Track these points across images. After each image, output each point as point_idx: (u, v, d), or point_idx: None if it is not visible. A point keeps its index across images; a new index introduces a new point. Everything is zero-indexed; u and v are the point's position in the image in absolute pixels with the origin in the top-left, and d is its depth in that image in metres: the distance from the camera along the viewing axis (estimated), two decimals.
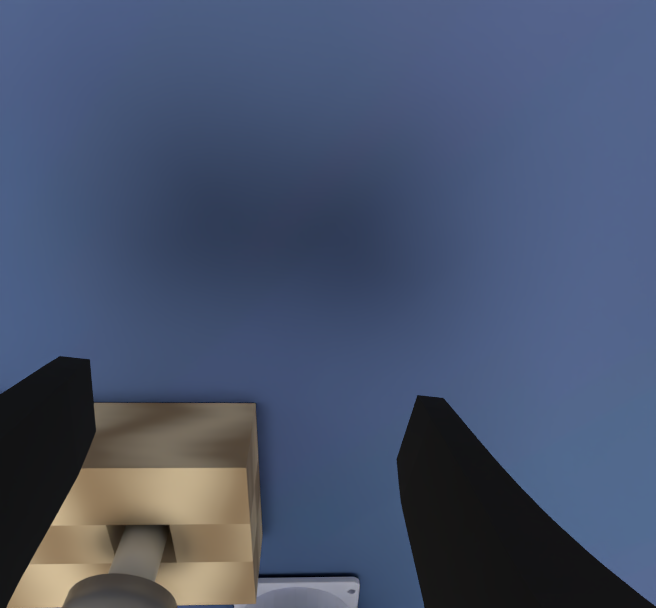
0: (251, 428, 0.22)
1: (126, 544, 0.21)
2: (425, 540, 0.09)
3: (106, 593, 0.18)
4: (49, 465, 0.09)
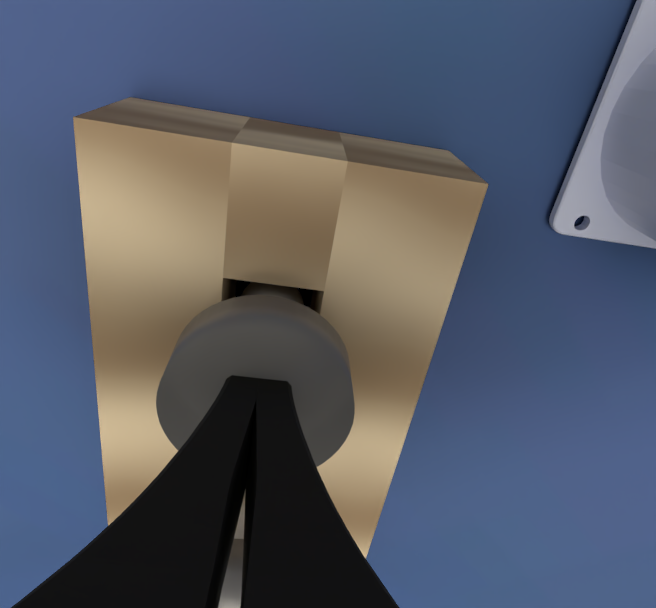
0: (112, 105, 0.13)
1: None
2: (246, 527, 0.09)
3: None
4: (241, 481, 0.09)
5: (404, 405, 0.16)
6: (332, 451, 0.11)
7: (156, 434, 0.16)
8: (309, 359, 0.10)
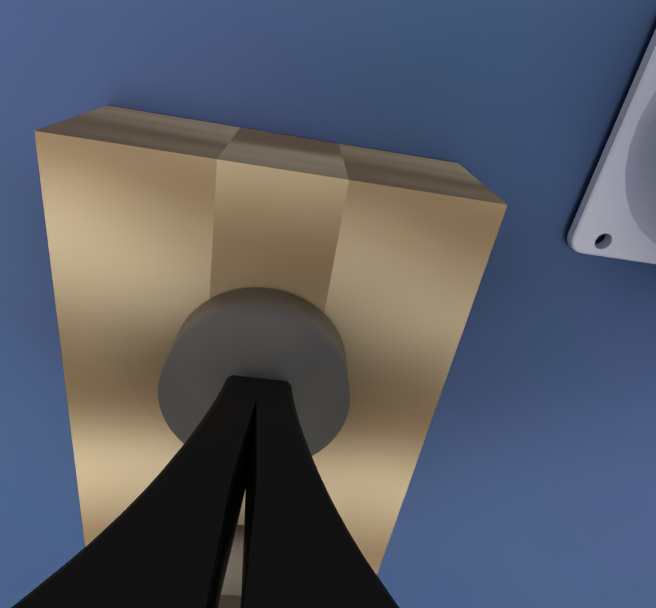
0: (84, 115, 0.12)
1: None
2: (246, 527, 0.09)
3: None
4: (241, 481, 0.09)
5: (410, 443, 0.14)
6: (328, 440, 0.12)
7: (138, 474, 0.14)
8: (306, 349, 0.10)
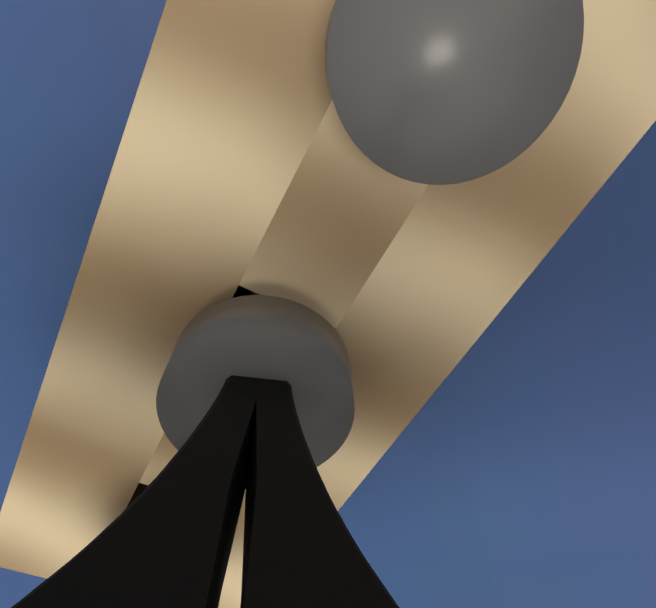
0: None
1: None
2: (246, 527, 0.09)
3: None
4: (241, 481, 0.09)
5: (533, 249, 0.12)
6: (505, 160, 0.09)
7: (198, 182, 0.11)
8: None
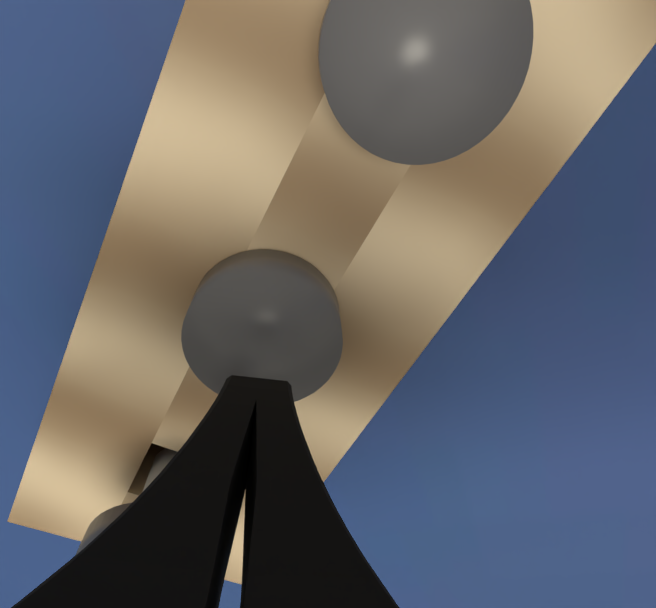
0: None
1: None
2: (246, 527, 0.09)
3: None
4: (241, 481, 0.09)
5: (502, 225, 0.14)
6: (471, 143, 0.11)
7: (208, 165, 0.12)
8: (512, 1, 0.10)
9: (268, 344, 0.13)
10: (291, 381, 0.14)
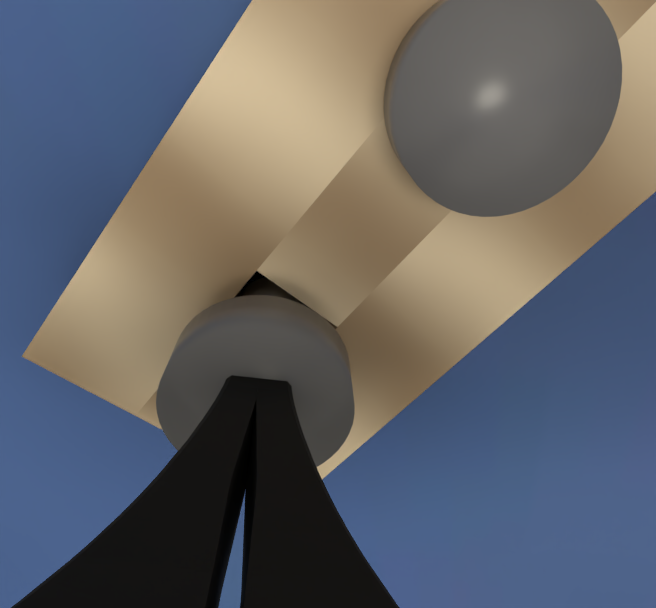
0: None
1: None
2: (246, 527, 0.09)
3: None
4: (241, 481, 0.09)
5: None
6: None
7: None
8: None
9: (514, 109, 0.09)
10: (516, 180, 0.10)
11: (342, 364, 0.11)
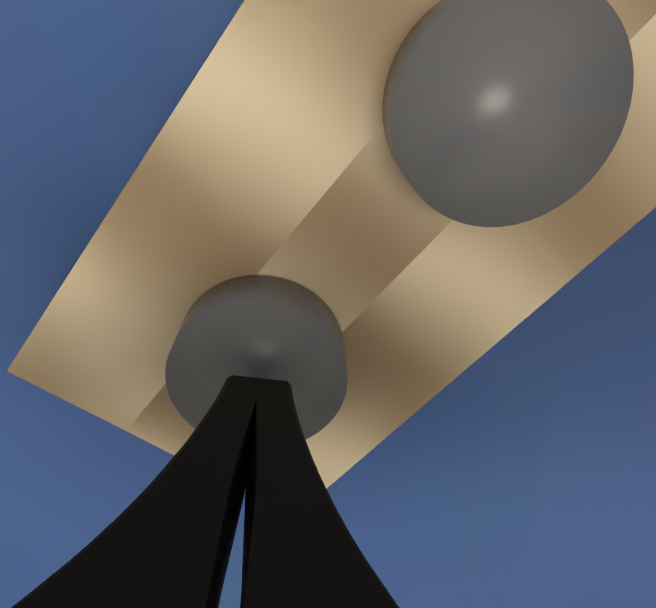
0: None
1: None
2: (246, 527, 0.09)
3: None
4: (241, 481, 0.09)
5: None
6: None
7: None
8: None
9: (520, 115, 0.09)
10: (521, 189, 0.10)
11: (336, 338, 0.12)
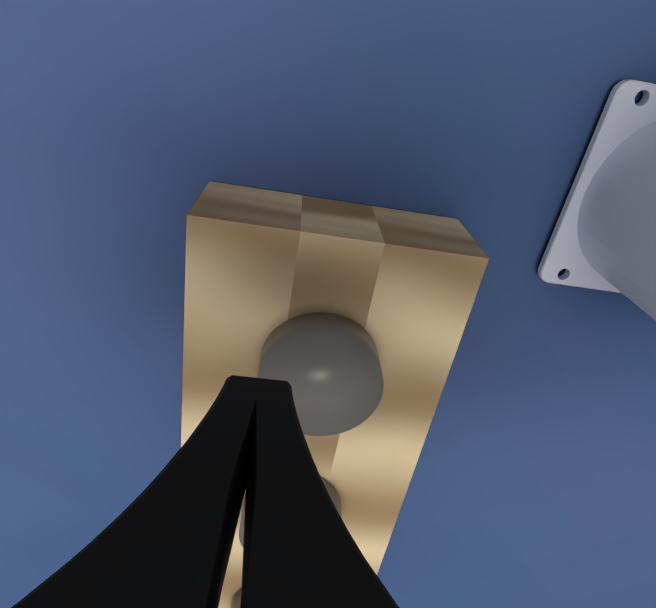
0: (203, 194, 0.17)
1: None
2: (246, 527, 0.09)
3: None
4: (241, 481, 0.09)
5: (422, 421, 0.20)
6: (367, 415, 0.17)
7: None
8: (356, 354, 0.16)
9: None
10: None
11: None
